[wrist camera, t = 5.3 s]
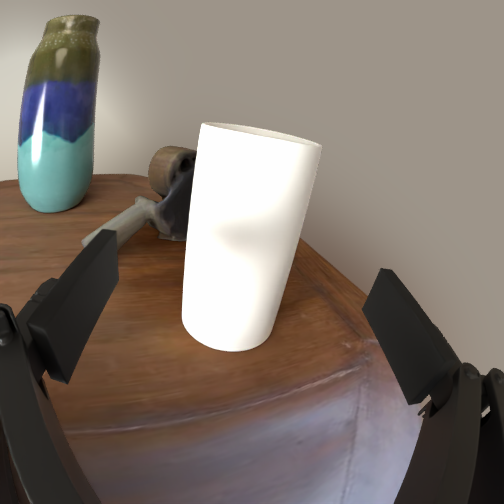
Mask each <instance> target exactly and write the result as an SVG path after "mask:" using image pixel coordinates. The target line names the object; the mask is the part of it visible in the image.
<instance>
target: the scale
mask: <svg viewBox="0 0 504 504" xmlns="http://www.w3.org/2000/svg"><path fill="white" fill-rule="evenodd" d="M2 437H3V450H4V459H5V467H6V473H7V480H8V485H9V490H10V495H11V500H12V504H19V501H18V498H17V494H16V490H15V486H14V482H13V478H12V473H11V468H10V463H9V458H8V451H7V445H6V437H5V434H4V430H3V426H2Z"/></svg>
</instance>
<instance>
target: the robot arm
mask: <svg viewBox="0 0 504 504" xmlns="http://www.w3.org/2000/svg"><path fill="white" fill-rule="evenodd" d="M118 281H119V273H118V257H117V231H116V230H109V229H101V230H100V231H99V232H98V234H97V235H96V236H95V237H94V238H93V239H92V240H91V241H90V242H89V243H88V245H87V246H86V247H85V248H84V249H83V250H82V251H81V253H80V254H79V255H78V256H77V257H76V258H75V260H74V261H73V262H72V263H71V264H70V265H69V267H68V268H67V269H66V270H65V272H64V273H63V274H62V275H61V276H60V278H59V279H55V278H50V279H49V280H47V281H46V282H44V283H43V284H41V286H40V287H39V288H38V289H37V291H36V292H35V294H33V296H32V297H31V298H30V301H28V302H27V303H26V305H25V306H24V307H23V309H22V310H21V311H20V313H19V314H18V315H17V317H16V318H15V316H14V314H13V311H12V308H11V307H10V306H8V305H7V304H2V303H1V304H0V504H12V500H11V495H10V490H9V485H8V480H7V473H6V467H5V459H4V450H3V437H2V426H3V430H4V434H5V437H6V441H7V444H8V447H9V450H10V453H11V456H12V459H13V462H14V465H15V468H16V470H17V473H18V476H19V478H20V481H21V483H22V485H23V488H24V490H25V492H26V495H27V497H28V499H29V501H30V503H31V504H102V503H101V501H100V500H99V498H98V497H97V495H96V493H95V492H94V490H93V489H92V487H91V485H90V484H89V482H88V480H87V478H86V477H85V475H84V473H83V471H82V469H81V467H80V466H79V464H78V462H77V460H76V458H75V456H74V454H73V452H72V450H71V448H70V446H69V443H68V441H67V439H66V437H65V435H64V432H63V430H62V428H61V425H60V423H59V420H58V418H57V415H56V413H55V410H54V408H53V405H52V402H51V399H50V397H49V394H48V391H47V388H46V385H45V382H44V380H43V378H42V375H43V373H44V371H45V369H46V370H47V372H48V374H49V376H50V378H51V379H53V380H56V381H59V382H62V383H65V384H68V383H69V381H70V378H71V376H72V374H73V371H74V369H75V367H76V364H77V362H78V360H79V358H80V356H81V353H82V351H83V349H84V347H85V345H86V343H87V341H88V339H89V336H90V334H91V332H92V330H93V328H94V326H95V324H96V322H97V320H98V318H99V316H100V314H101V312H102V311H103V309H104V307H105V305H106V303H107V301H108V299H109V297H110V295H111V294H112V292H113V290H114V288H115V286H116V285H117V283H118ZM362 311H363V313H364V315H365V317H366V318H367V320H368V322H369V324H370V326H371V328H372V330H373V332H374V334H375V336H376V338H377V340H378V342H379V344H380V346H381V348H382V350H383V352H384V354H385V356H386V358H387V360H388V362H389V364H390V366H391V368H392V370H393V372H394V374H395V376H396V379H397V381H398V383H399V385H400V387H401V389H402V391H403V394H404V396H405V398H406V400H407V403H408V405H412V404H417V403H421V402H422V401H423V400H424V399H425V398H426V397H427V396H428V395H430V396H431V400H430V401H429V402H428V403H427V404H426V405H425V406H424V407H423V408H422V409H421V410H420V411H419V413H418V415H420V414H422V413H423V412H424V411H425V414H424V415H423V416H422V417H423V418H424V419H423V423H422V426H421V430H420V433H419V437H418V440H417V443H416V447H415V450H414V453H413V456H412V459H411V461H410V464H409V467H408V470H407V472H406V475H405V478H404V480H403V483H402V485H401V488H400V490H399V492H398V495H397V497H396V499H395V501H394V504H504V373H503V372H502V371H501V370H499V369H497V368H493V369H491V370H490V372H489V373H488V374H487V375H486V376H485V375H480V373H479V371H478V370H477V369H476V368H475V367H474V366H473V365H472V364H470V363H463V364H462V363H461V361H460V360H459V358H458V357H457V355H456V354H455V352H454V351H453V349H452V348H451V346H450V345H449V343H447V340H446V339H445V337H443V335H442V333H441V332H440V331H439V329H438V327H436V326H435V325H434V324H433V323H432V322H431V320H430V319H429V318H428V316H427V315H426V313H425V312H424V311H423V309H422V308H421V307H420V305H419V304H418V303H417V301H416V300H415V299H414V297H413V296H412V295H411V293H410V292H409V291H408V289H407V288H406V287H405V286H404V284H403V283H402V282H401V281H400V279H399V278H398V277H397V275H396V274H395V273H394V272H393V271H392V270H390V269H383V268H381V269H380V271H379V273H378V276H377V278H376V280H375V282H374V285H373V287H372V289H371V291H370V293H369V295H368V298H367V300H366V302H365V304H364V306H363V308H362ZM488 406H490V412H489V413H488V414H487V415H485V417H483V418H482V414H481V413H482V412H483V411H484V410H485V409H486V408H487V407H488Z"/></svg>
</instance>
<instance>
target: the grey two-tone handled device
mask: <svg viewBox="0 0 504 504" xmlns="http://www.w3.org/2000/svg"><path fill="white" fill-rule="evenodd" d="M196 156H197V151H195V150H191V149H187V148H183V147H175V146H167V147H163V148H161V149H160V150H158V151H157V152H156V153H155V155H154V156H153V158H152V160H151V163H150V166H149V171H148V175H149V176H148V177H149V182H150V185H151V188H152V189H153V190H154V191H155V192H156V193H158V194H159V195H160V196H162V199H163V201H161V202H156V201H152V200H149V199H148V198H146V197H144V196H138V197H136V199H135V204H134V205H133V206H131V207H130V208H128V209H126V210H125V211H124V212H122V213H121V214H119V215H118V216H116V217H114V218H113V219H111V220H110V221H108V222H107V223H105V224H104V225H102V226H101V227H99V228H98V229H97V230H95V231H94V232H92V233H91V234H89V235H88V236H87V237H85V238H84V239H83V240H82V245H83V247H84V248H85V247H86V246H87V245H88V243H89V242H90V241H91V240H92V239H93V238H94V237H95V236H96V235H97V234H98V232H99V231H100V230H101V229H109V230H116V231H117V250H119V249H120V248H121V247H122V246H123V245H124V244H125V243H126V242H127V241H128V240H129V239H130V238H131V237H132V236H133V235H134V234H135V233H136V232H137V231H138V230H140V229H141V228H142V227H143V226H144V225H145V224H146V222H147V223H148V224H149V225H150V226H151V227H153V228H155V229H157V230H159V231H160V233H159V236H158V237H157V238H160V239H167V240H174V241H187V233H188V223H189V213H190V204H191V195H192V187H193V179H194V171H195V163H196Z"/></svg>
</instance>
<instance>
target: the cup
mask: <svg viewBox="0 0 504 504" xmlns="http://www.w3.org/2000/svg"><path fill="white" fill-rule="evenodd" d="M321 152H322V146H321V145H320V144H317V143H315V142H312V141H309V140H306V139H303V138H299V137H295V136H291V135H288V134H284V133H279V132H275V131H270V130H265V129H259V128H254V127H248V126H241V125H234V124H225V123H209V122H208V123H202V126H201V130H200V137H199V143H198V150H197V156H196V163H195V171H194V179H193V187H192V195H191V204H190V213H189V223H188V233H187V244H186V256H185V270H184V285H183V302H182V321H183V324H184V326H185V328H186V330H187V331H188V332H189V333H190V335H191V336H193V337H194V338H195V339H196V340H198V341H199V342H201V343H202V344H204V345H206V346H209V347H211V348H214V349H218V350H223V351H244V350H249V349H252V348H254V347H257V346H259V345H260V344H262V343H263V342H264V341H265V340H266V339H267V338H268V337H269V335H270V333H271V331H272V328H273V325H274V322H275V318H276V315H277V312H278V309H279V305H280V302H281V299H282V296H283V292H284V289H285V286H286V282H287V279H288V276H289V272H290V269H291V265H292V262H293V258H294V255H295V251H296V248H297V244H298V241H299V237H300V233H301V230H302V226H303V222H304V219H305V215H306V211H307V207H308V204H309V200H310V196H311V192H312V189H313V185H314V181H315V177H316V173H317V169H318V165H319V160H320V156H321Z"/></svg>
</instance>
